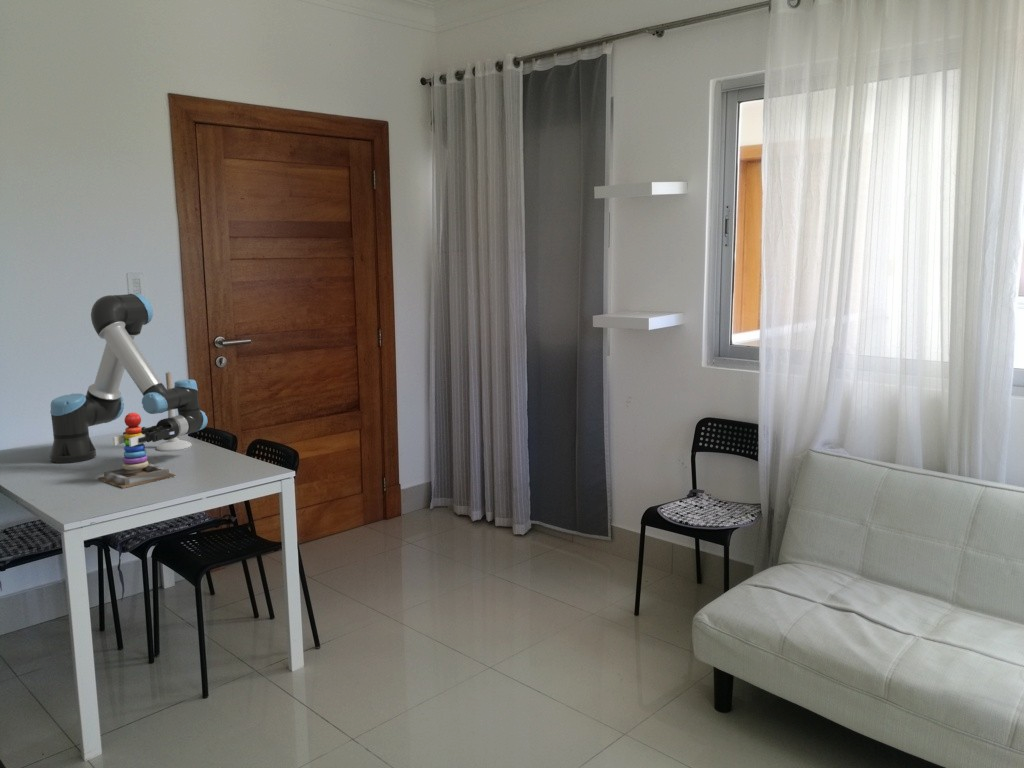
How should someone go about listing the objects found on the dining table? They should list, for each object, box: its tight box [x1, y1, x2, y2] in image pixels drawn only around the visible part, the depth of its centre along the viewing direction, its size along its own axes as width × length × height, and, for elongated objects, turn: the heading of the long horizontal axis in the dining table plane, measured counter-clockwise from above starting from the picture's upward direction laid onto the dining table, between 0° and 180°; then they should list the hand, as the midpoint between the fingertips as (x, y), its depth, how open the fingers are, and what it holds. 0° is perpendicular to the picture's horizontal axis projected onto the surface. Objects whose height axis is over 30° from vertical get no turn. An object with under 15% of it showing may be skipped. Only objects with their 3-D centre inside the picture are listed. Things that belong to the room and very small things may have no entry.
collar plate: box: [97, 463, 177, 489], centre depth 281 cm, size 18×18×3 cm
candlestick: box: [156, 371, 193, 452], centre depth 323 cm, size 13×13×30 cm
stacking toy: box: [122, 412, 150, 470], centre depth 279 cm, size 8×8×19 cm
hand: (122, 441), depth 274 cm, fingers closed on stacking toy, 6 cm apart
